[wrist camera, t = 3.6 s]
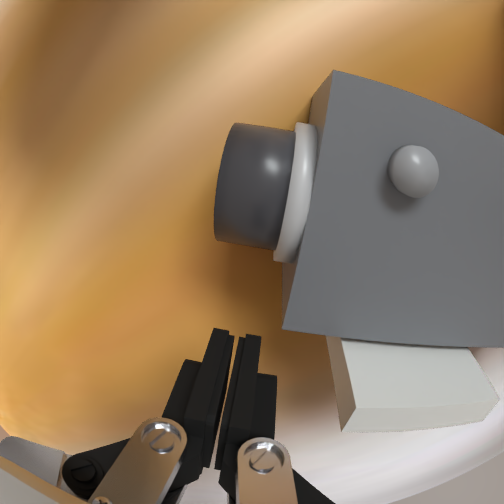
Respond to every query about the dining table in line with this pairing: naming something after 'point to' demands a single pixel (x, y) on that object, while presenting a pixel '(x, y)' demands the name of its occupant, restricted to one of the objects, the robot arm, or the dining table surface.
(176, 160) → the dining table surface
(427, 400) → the off-white foam block
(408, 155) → the housing
